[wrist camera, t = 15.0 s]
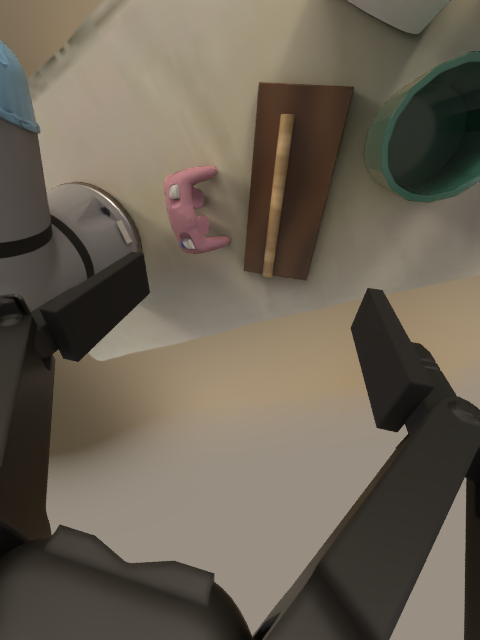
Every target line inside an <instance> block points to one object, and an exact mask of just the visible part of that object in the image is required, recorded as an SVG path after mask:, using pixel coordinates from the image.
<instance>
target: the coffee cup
mask: <svg viewBox="0 0 480 640" xmlns="http://www.w3.org/2000/svg"><path fill="white" fill-rule="evenodd" d="M364 160H365V165H366V168H367V171H368V173H369V175H370V176H371V178H372V179H373V180H374V181H375V182H376V183H378V184H379V185H381V186H382V187H384V188H385V189H387V190H389V191H391V192H393V193H395V194H397V195H399V196H400V197H402V198H404V199H406V200H409V201H419V202H428V203H429V202H434V201H438V200H442V199H446V198H450V197H454V196H456V195H458V194H459V193H461V192H463V191H465V190H466V189H468V188H470V187H471V186H473V185H475V184H476V183H478V182H480V52H479V51H472V52H468V53H466V54H463V55H461V56H459V57H456V58H454V59H452V60H449V61H447V62H444V63H442V64H440V65H438V66H436V67H435V68H433V69H431V70H430V71H428V72H427V73H425V74H423V75H422V76H420V77H418V78H417V79H415V80H414V81H412V82H410V83H409V84H407V85H406V86H404V87H403V88H402V89H401V90H400V91H398V92H397V93H396V94H394V95H393V96H392V97H391V98H390V99H389V100H388V101H387V102H386V103H385V104H384V106H383V107H382V108H381V109H380V111H379V112H378V113H377V115H376V117H375V118H374V120H373V122H372V124H371V126H370V128H369V131H368V134H367V137H366V141H365V147H364Z"/></svg>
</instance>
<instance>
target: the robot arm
mask: <svg viewBox="0 0 480 640" xmlns="http://www.w3.org/2000/svg"><path fill="white" fill-rule="evenodd" d="M37 133H40V127H39V125H38V124H37V122H36V120H35V115H34V110H33V105H32V100H31V96H30V91H29V86H28V81H27V77H26V74H25V72H24V69H23V67H22V65H21V64H20V62H19V60H18V59H17V57H16V56H15V55H14V54H13V52H12V51H11V50H10V49H9V48H8V47H7V46H6V45H5V44H4V43H3V42H2V41H0V640H389V639H390V637H391V635H392V633H393V630H394V628H395V626H396V624H397V622H398V619H399V617H400V615H401V613H402V611H403V609H404V607H405V604H406V602H407V600H408V598H409V596H410V594H411V591H412V590H413V587H414V585H415V583H416V581H417V579H418V577H419V574H420V572H421V570H422V568H423V566H424V564H425V562H426V559H427V557H428V555H429V553H430V551H431V549H432V546H433V544H434V542H435V540H436V538H437V536H438V534H439V531H440V529H441V527H442V525H443V523H444V520H445V519H446V516H447V514H448V512H449V510H450V508H451V506H452V503H453V501H454V499H455V497H456V495H457V493H458V491H459V488H460V486H461V484H462V482H463V480H464V477H466V478H467V483H466V485H467V486H466V553H465V621H464V624H465V625H464V627H465V628H464V640H480V410H479V409H478V408H477V407H476V406H474V405H473V404H471V403H470V402H469V401H467V400H464V399H462V398H460V397H457V396H456V394H455V392H454V391H453V389H452V388H451V386H450V384H449V383H448V381H447V379H446V378H445V376H444V374H443V373H442V371H440V368H439V367H438V365H437V363H435V360H434V358H433V356H432V355H431V353H430V352H429V351H428V350H427V349H426V348H424V347H423V346H422V345H421V344H419V343H413V342H411V341H410V339H409V338H408V336H407V334H406V332H405V330H404V329H403V327H402V325H401V323H400V321H399V319H398V318H397V316H396V314H395V312H394V310H393V308H392V307H391V305H390V303H389V301H388V299H387V298H386V296H385V294H384V292H383V290H378V289H371V288H367V291H366V293H365V295H364V298H363V300H362V302H361V305H360V307H359V310H358V312H357V314H356V317H355V319H354V321H353V324H352V326H351V331H352V335H353V339H354V342H355V346H356V350H357V354H358V358H359V362H360V366H361V369H362V373H363V377H364V381H365V385H366V389H367V392H368V396H369V400H370V404H371V408H372V412H373V415H374V419H375V423H376V427H377V428H380V429H384V430H389V431H394V432H398V431H399V430H400V429H401V427H402V426H403V425H404V424H405V426H406V428H407V431H408V435H407V436H406V437H405V438H404V439H403V440H402V441H401V442H400V444H399V445H398V446H397V447H396V450H395V451H394V452H393V454H392V455H391V456H390V458H389V459H388V460H387V462H386V463H385V464H384V466H383V467H382V468H381V470H380V471H379V472H378V474H377V475H376V476H375V478H374V479H373V480H372V481H371V483H370V484H369V485H368V487H367V488H366V489H365V491H364V492H363V493H362V495H361V496H360V497H359V499H358V500H357V501H356V503H355V504H354V505H353V506H352V508H351V509H350V510H349V512H348V513H347V515H346V516H345V517H344V518H343V520H342V521H341V522H340V524H339V525H338V526H337V528H336V529H335V530H334V532H333V533H332V534H331V535H330V537H329V538H328V539H327V541H326V542H325V543H324V545H323V546H322V547H321V549H320V550H319V551H318V553H317V554H316V555H315V557H314V558H313V559H312V560H311V562H310V563H309V564H308V566H307V567H306V569H305V570H304V571H303V572H302V574H301V575H300V576H299V578H298V579H297V580H296V581H295V583H294V584H293V585H292V587H291V588H290V589H289V590H288V592H287V593H286V594H285V595H284V597H283V598H282V599H281V600H280V601H279V602H278V604H277V605H276V606H275V608H274V609H273V610H272V611H271V613H270V614H269V615H268V617H267V618H266V619H265V620H264V622H263V623H262V624H261V626H260V627H259V628H258V630H257V631H256V632H255V634H254V635H253V636H252V635H251V633H250V630H249V628H248V625H247V623H246V621H245V619H244V617H243V616H242V614H241V612H240V610H239V608H238V607H237V605H236V604H235V603H234V601H233V600H232V598H231V597H230V596H229V595H228V594H227V593H226V592H225V591H224V589H222V588H221V587H220V586H219V585H218V584H216V583H215V582H214V573H211V572H208V571H205V570H201V569H198V568H195V567H192V566H189V565H186V564H183V563H179V562H176V561H162V562H145V563H127V562H125V561H123V559H121V558H120V557H119V556H118V555H117V554H116V553H114V552H113V551H112V550H111V549H110V548H109V547H108V546H106V545H105V544H104V543H103V542H102V541H101V540H99V539H98V538H97V537H96V536H94V535H91V534H88V533H85V532H82V531H78V530H75V529H72V528H69V527H66V526H62V525H59V526H58V528H57V530H56V531H55V533H54V534H53V535H51V528H50V523H49V520H48V518H47V514H46V493H47V477H48V462H49V448H50V433H51V418H52V402H53V386H54V371H55V358H54V356H53V353H54V352H56V351H57V350H58V349H59V350H60V353H61V355H62V357H63V358H64V359H68V360H72V361H77V362H79V361H80V360H81V359H82V358H83V357H84V356H85V355H86V354H87V353H88V352H89V351H90V350H91V349H92V348H93V347H94V346H95V345H96V344H97V343H98V342H99V341H100V340H101V339H102V338H103V337H105V336H106V335H107V334H108V333H109V332H110V331H111V330H112V329H113V328H114V327H115V326H116V325H117V324H118V323H119V322H120V321H121V320H122V319H123V318H124V317H125V316H126V315H127V314H128V313H129V312H131V311H132V310H133V309H134V308H135V307H136V306H137V305H138V304H139V303H140V302H141V301H142V300H143V299H144V298H145V297H146V296H147V295H148V294H149V293H150V290H149V284H148V278H147V272H146V266H145V260H144V254H143V253H142V246H141V240H140V237H139V233H138V231H137V228H136V226H135V224H134V222H133V221H132V219H131V217H130V216H129V214H128V213H127V211H126V210H125V209H124V208H123V207H122V205H121V204H120V203H119V202H118V201H117V200H116V199H114V198H113V197H112V196H111V195H110V194H108V193H107V192H105V191H104V190H102V189H100V188H98V187H96V186H94V185H91V184H88V183H82V182H73V183H66V184H61V185H59V186H57V187H54V188H52V189H51V190H49V191H48V192H47V193H46V187H45V181H44V174H43V167H42V160H41V154H40V147H39V140H38V134H37Z"/></svg>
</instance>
